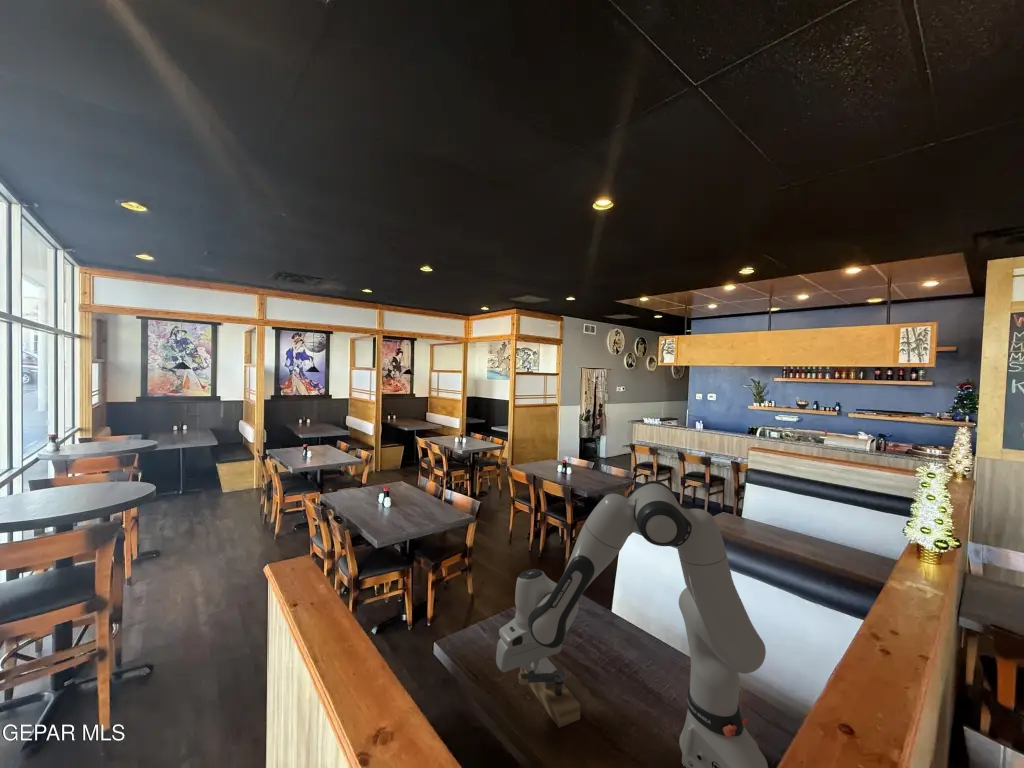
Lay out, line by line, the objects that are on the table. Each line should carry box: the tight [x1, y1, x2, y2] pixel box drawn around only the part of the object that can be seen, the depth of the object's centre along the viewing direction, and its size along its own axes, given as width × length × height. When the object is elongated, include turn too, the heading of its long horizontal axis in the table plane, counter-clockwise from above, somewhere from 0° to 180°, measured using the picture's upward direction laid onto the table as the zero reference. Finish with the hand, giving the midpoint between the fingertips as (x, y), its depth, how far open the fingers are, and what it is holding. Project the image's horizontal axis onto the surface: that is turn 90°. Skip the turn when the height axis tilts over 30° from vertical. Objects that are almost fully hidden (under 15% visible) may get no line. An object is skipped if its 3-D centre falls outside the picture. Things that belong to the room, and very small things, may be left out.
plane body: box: [519, 663, 582, 729], centre depth 122 cm, size 22×7×8 cm, turn 27°
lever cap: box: [535, 657, 558, 688], centre depth 123 cm, size 8×5×3 cm, turn 27°
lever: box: [517, 669, 566, 686], centre depth 116 cm, size 13×4×2 cm, turn 97°
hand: (529, 674), depth 118 cm, fingers closed
